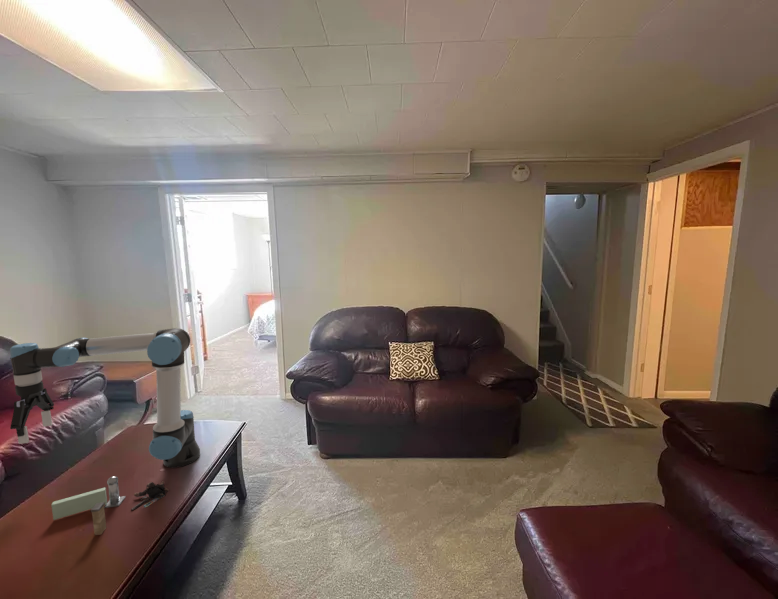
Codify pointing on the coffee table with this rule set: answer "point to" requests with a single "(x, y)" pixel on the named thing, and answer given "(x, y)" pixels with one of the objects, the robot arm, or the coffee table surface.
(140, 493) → the stuffed animal
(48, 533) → the coffee table surface
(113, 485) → the hinge post
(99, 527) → the block
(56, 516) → the gate
